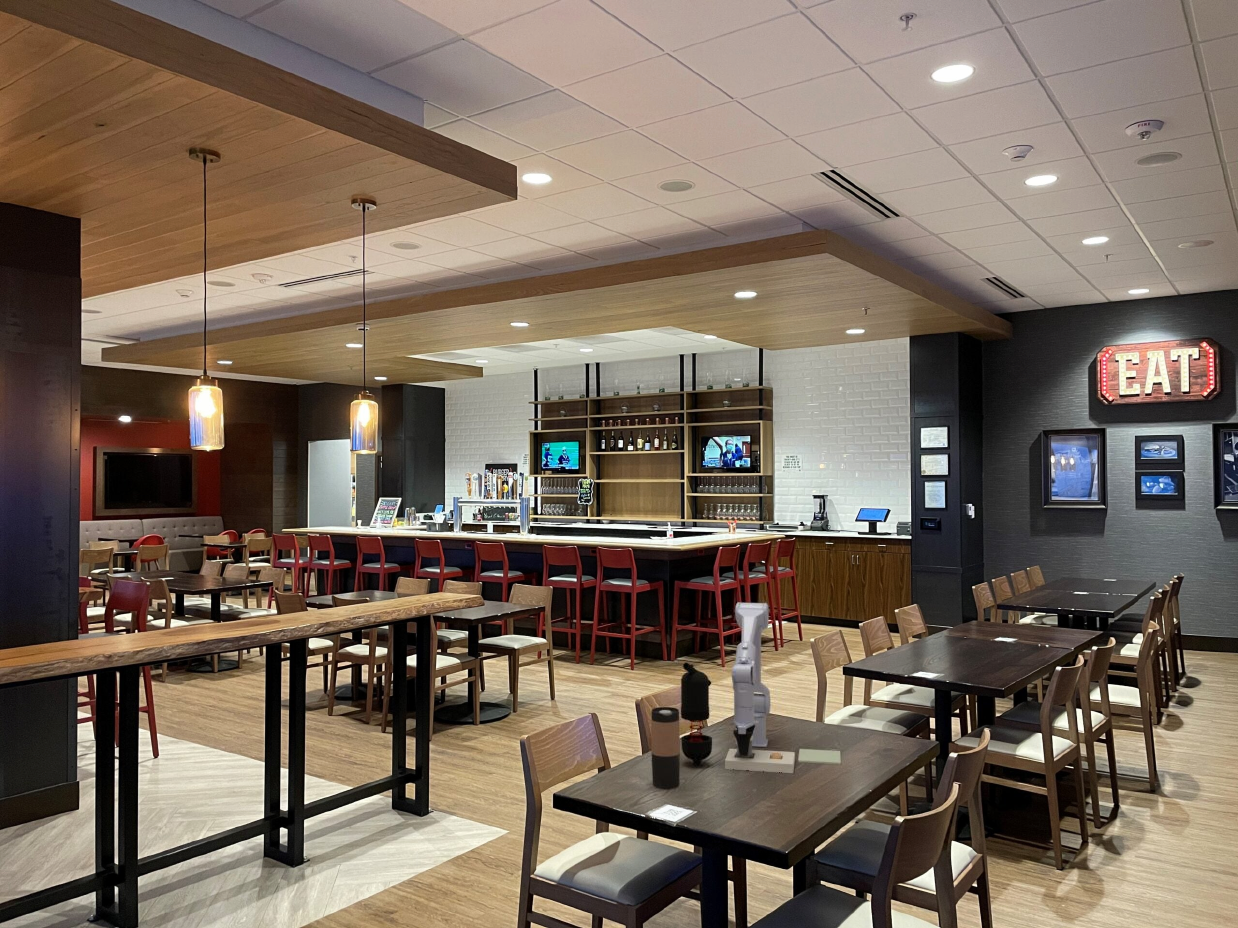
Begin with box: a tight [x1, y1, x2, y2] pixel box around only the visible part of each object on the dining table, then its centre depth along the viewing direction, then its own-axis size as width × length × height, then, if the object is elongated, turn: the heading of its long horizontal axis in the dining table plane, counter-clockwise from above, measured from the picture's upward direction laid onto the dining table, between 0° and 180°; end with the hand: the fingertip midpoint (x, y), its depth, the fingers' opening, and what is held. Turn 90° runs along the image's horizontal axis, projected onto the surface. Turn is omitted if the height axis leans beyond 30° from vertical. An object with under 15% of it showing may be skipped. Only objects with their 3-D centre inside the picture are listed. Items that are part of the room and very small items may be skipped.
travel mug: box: [650, 706, 681, 790], centre depth 244 cm, size 8×8×20 cm
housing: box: [724, 748, 796, 774], centre depth 260 cm, size 19×12×2 cm, turn 77°
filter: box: [680, 662, 713, 766], centre depth 263 cm, size 14×9×30 cm
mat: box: [797, 748, 842, 766], centre depth 267 cm, size 12×12×1 cm
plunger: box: [771, 753, 781, 759], centre depth 259 cm, size 3×3×2 cm
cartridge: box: [736, 736, 753, 759], centre depth 261 cm, size 5×5×8 cm
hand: (744, 752), depth 261 cm, fingers closed on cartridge, 5 cm apart
